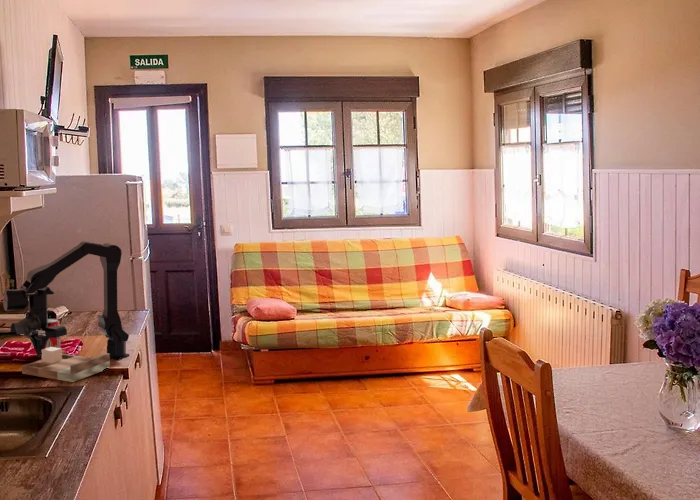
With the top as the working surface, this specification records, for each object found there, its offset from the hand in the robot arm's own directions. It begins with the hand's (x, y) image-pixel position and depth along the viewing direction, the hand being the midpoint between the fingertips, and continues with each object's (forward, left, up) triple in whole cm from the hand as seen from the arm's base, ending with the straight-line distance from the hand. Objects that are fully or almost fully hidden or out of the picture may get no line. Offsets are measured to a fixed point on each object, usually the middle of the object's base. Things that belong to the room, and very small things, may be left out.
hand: (38, 354), depth 267 cm
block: (0, +5, -1) cm, 5 cm away
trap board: (0, +11, -4) cm, 12 cm away
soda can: (-14, -8, -4) cm, 16 cm away
